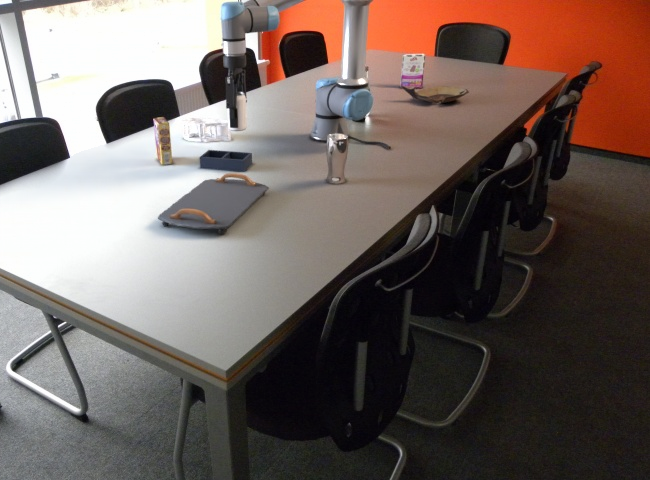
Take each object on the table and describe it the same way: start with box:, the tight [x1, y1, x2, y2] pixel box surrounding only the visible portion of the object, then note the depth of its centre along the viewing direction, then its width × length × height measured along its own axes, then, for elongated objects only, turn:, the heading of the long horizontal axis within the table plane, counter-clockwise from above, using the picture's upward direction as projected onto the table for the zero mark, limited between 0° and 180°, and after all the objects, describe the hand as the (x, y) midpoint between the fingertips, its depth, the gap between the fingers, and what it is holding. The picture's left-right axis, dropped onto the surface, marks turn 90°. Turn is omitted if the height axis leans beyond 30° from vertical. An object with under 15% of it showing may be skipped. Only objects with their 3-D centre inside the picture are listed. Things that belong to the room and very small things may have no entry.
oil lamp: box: [400, 85, 470, 104], centre depth 291 cm, size 22×30×8 cm
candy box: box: [153, 116, 173, 166], centre depth 224 cm, size 9×4×15 cm, turn 20°
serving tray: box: [157, 172, 270, 236], centre depth 184 cm, size 39×23×6 cm, turn 158°
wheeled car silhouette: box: [181, 117, 232, 143], centre depth 250 cm, size 20×11×7 cm, turn 66°
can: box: [227, 92, 248, 132], centre depth 209 cm, size 6×6×12 cm
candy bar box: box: [400, 53, 426, 89], centre depth 315 cm, size 11×5×16 cm, turn 80°
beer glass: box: [325, 133, 349, 185], centre depth 200 cm, size 7×7×15 cm
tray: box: [198, 149, 253, 173], centre depth 220 cm, size 17×9×4 cm, turn 71°
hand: (237, 124), depth 212 cm, fingers closed on can, 6 cm apart
